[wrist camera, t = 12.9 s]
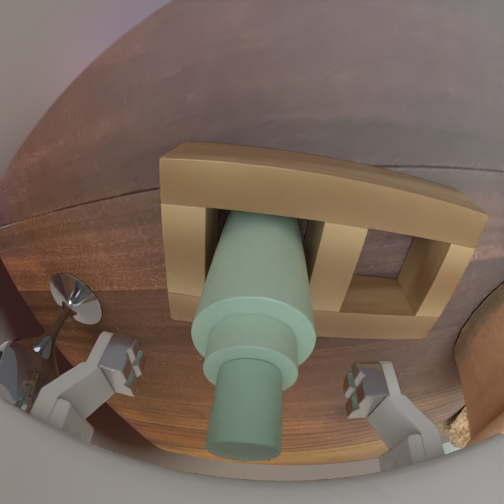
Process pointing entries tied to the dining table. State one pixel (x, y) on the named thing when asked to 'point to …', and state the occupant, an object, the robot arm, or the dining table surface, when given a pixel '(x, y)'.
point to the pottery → (483, 367)
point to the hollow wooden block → (321, 232)
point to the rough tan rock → (460, 430)
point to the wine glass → (44, 344)
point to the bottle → (253, 331)
